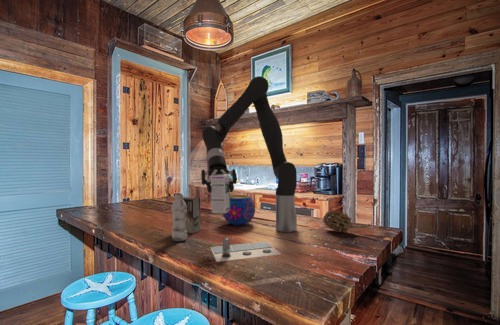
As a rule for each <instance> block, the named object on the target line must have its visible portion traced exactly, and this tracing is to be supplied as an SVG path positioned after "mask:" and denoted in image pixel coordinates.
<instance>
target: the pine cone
mask: <svg viewBox="0 0 500 325" xmlns="http://www.w3.org/2000/svg"><path fill="white" fill-rule="evenodd" d="M322 218H323V221H322V222H323V223H324V225H325V226H326V227H328V228H329V230H332V231H335V232H340V233H342V232H343V233H345V234H346V233H347V232H348V231H349V230H351V229H360V228H361V229H367V228H368V229H369V228H370V226H371V223H367V224H358V225H357V224H354V223H352V218H351V216H348V214H347V213H344V212H341V211H340V210H333V209H332V210H329V211H326V213H324V215H323V217H322Z"/></svg>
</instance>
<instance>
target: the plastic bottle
mask: <svg viewBox="0 0 500 325" xmlns="http://www.w3.org/2000/svg"><path fill="white" fill-rule="evenodd" d="M184 197H185V196H184V193H175V194H174V200H173V203H171V214H172V232H171V239H172V241H173V242H178V243H179V242H184V241H186V240H187V238H188V235H189V233H187V229H186V211H187V205H186V203H185V201H184V200H183V198H184Z"/></svg>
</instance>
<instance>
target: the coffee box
mask: <svg viewBox="0 0 500 325" xmlns="http://www.w3.org/2000/svg"><path fill="white" fill-rule="evenodd" d="M183 200H184V201H185V203H186V205H187V211H186V229H187V234H195V233H198V232H200V231H201V198H200V197H191V196H190V197H189V196H184V198H183Z"/></svg>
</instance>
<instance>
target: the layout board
mask: <svg viewBox="0 0 500 325" xmlns="http://www.w3.org/2000/svg"><path fill="white" fill-rule="evenodd" d="M209 248H210V250H211V252H212V254H213V257H214V259H215V262H217V263H220V262H228V261H237V260H244V259H252V258H254V259H255V258H261V257H269V256H278V255H282V253H281V252H280V251H278V250H277V249H276V248H275V247H274V246H272V245H271V243H270V242H268V241H256V242H247V243H239V244H238V243H237V244H230V256H229V257H223V256H222V245H219V246H217V245H216V246H210V247H209Z"/></svg>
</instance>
